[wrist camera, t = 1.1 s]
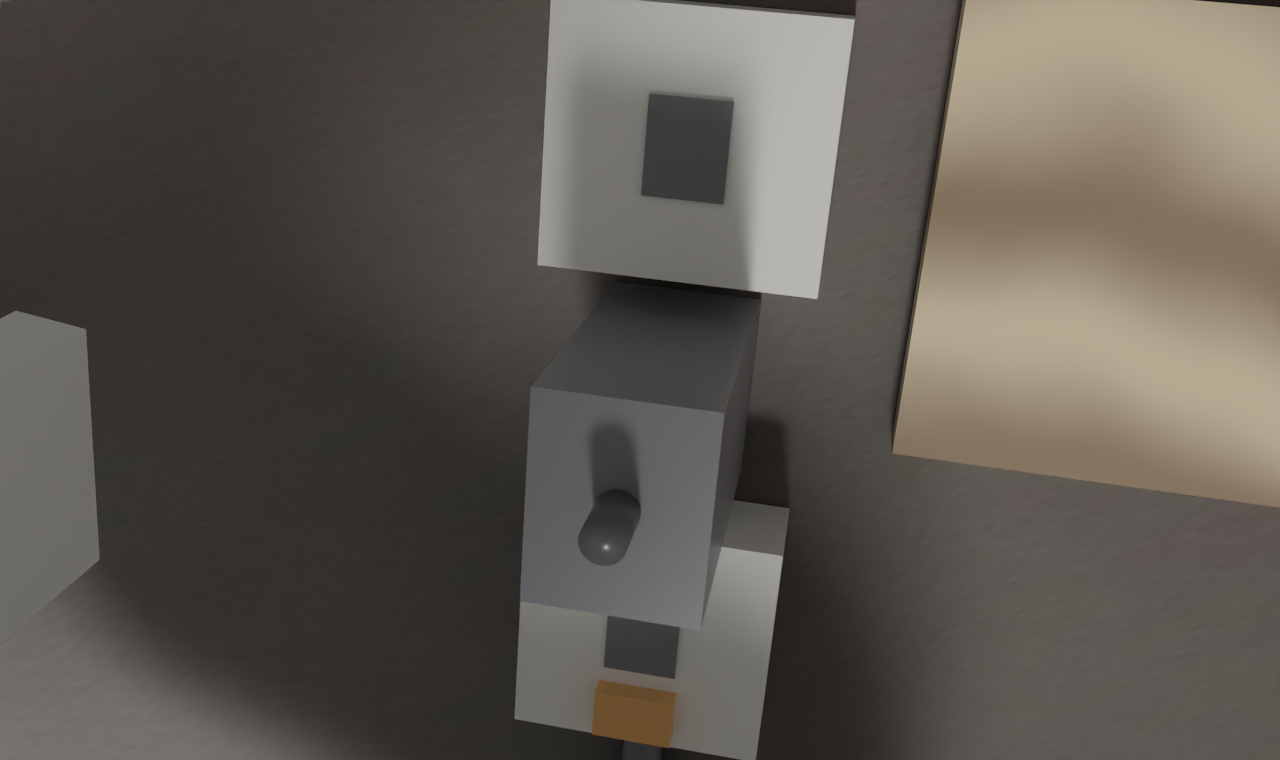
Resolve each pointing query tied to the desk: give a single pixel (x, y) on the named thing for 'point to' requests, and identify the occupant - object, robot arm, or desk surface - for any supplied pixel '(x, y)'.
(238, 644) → the desk surface
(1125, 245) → the birch board
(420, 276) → the desk surface
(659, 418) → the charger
